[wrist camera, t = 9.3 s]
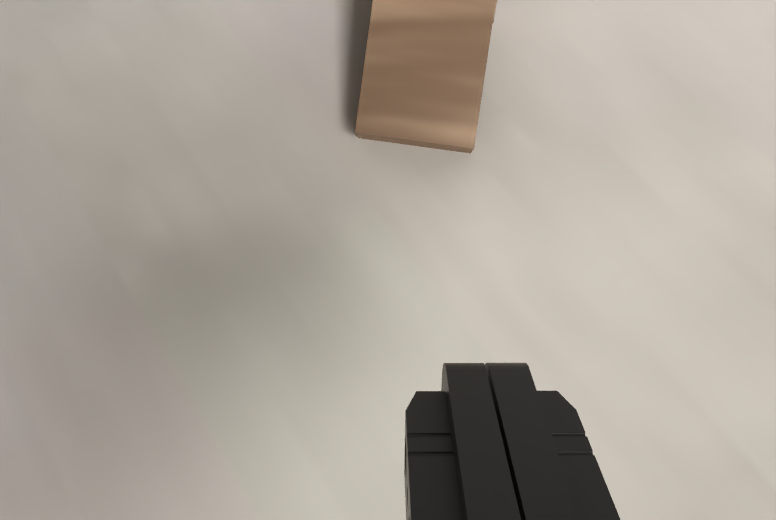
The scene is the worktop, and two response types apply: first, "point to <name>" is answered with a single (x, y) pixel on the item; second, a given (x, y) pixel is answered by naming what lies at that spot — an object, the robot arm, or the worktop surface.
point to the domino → (425, 72)
